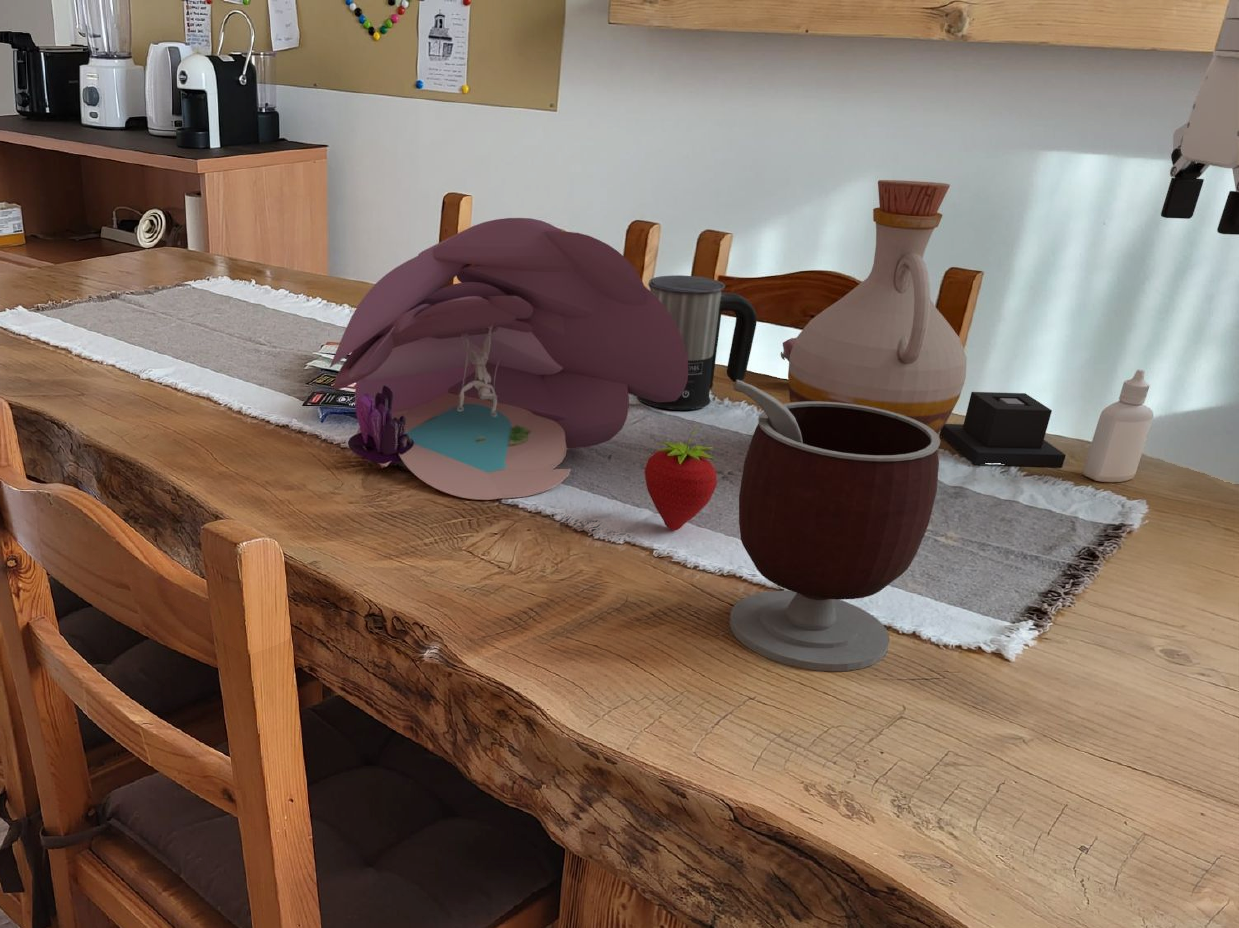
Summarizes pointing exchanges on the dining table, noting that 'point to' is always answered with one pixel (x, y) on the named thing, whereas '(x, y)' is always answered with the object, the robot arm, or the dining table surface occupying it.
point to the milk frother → (704, 332)
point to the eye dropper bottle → (1120, 434)
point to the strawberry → (680, 482)
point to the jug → (887, 324)
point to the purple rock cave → (504, 357)
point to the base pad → (1001, 448)
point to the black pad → (1006, 420)
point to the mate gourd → (829, 525)
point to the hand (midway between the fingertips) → (1203, 225)
